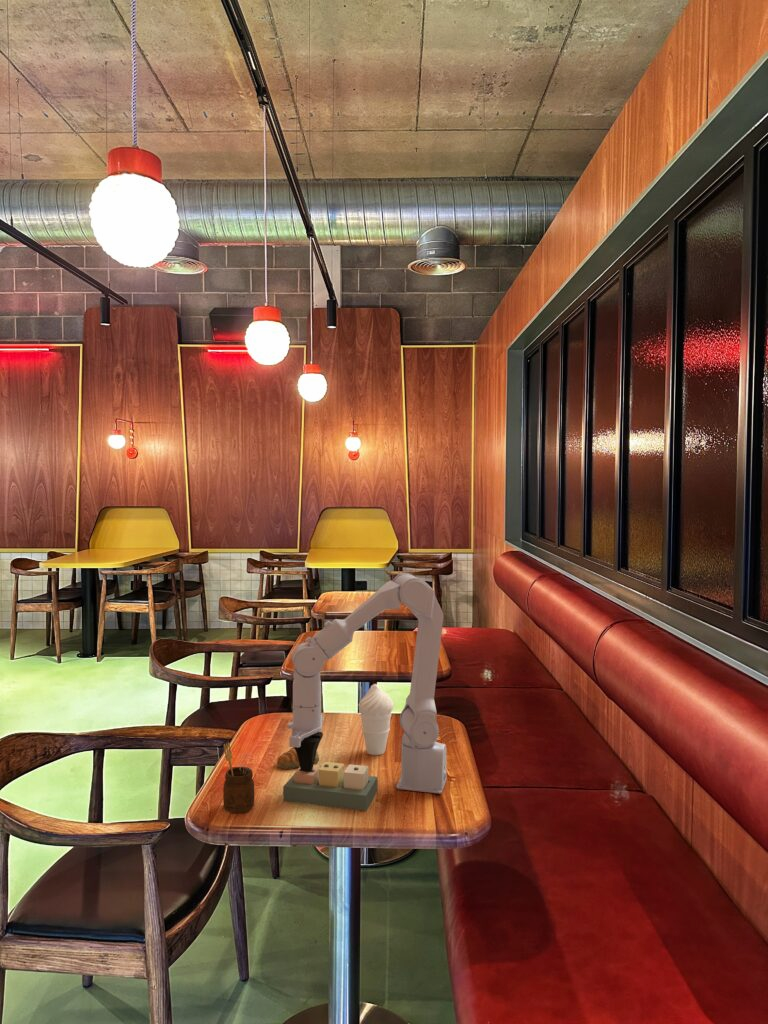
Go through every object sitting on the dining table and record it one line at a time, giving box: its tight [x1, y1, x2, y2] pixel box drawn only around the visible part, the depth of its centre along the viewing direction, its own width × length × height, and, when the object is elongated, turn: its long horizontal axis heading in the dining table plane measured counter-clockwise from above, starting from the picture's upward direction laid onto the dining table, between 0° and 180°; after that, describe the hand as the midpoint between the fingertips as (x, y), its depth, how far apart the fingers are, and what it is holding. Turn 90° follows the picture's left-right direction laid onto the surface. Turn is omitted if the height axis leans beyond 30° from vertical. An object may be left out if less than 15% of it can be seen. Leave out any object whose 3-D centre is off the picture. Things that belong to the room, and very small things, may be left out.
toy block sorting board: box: [282, 774, 379, 812], centre depth 139 cm, size 17×9×3 cm, turn 77°
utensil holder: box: [222, 741, 255, 814], centre depth 133 cm, size 6×6×12 cm
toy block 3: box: [344, 764, 369, 790], centre depth 137 cm, size 4×4×5 cm
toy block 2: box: [319, 761, 345, 787], centre depth 139 cm, size 4×4×5 cm
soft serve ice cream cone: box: [358, 683, 395, 756], centre depth 162 cm, size 8×8×16 cm
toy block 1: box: [293, 766, 320, 785], centre depth 140 cm, size 4×4×5 cm
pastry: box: [276, 747, 320, 770], centre depth 155 cm, size 9×7×4 cm
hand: (306, 769), depth 140 cm, fingers closed, pressing on toy block 1
